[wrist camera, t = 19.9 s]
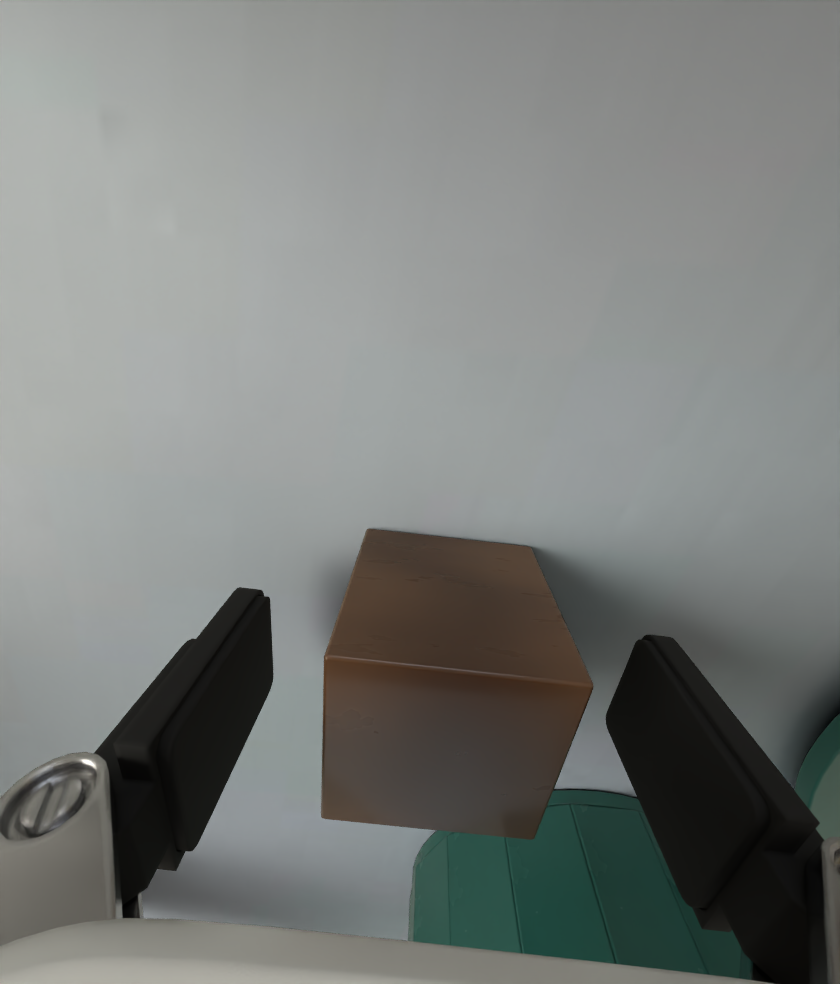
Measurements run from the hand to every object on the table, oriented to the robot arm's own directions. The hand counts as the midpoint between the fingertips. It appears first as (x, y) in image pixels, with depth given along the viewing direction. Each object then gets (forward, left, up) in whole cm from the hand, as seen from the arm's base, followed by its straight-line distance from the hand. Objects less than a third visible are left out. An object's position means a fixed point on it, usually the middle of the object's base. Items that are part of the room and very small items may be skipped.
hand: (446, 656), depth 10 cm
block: (0, 0, -2) cm, 2 cm away
